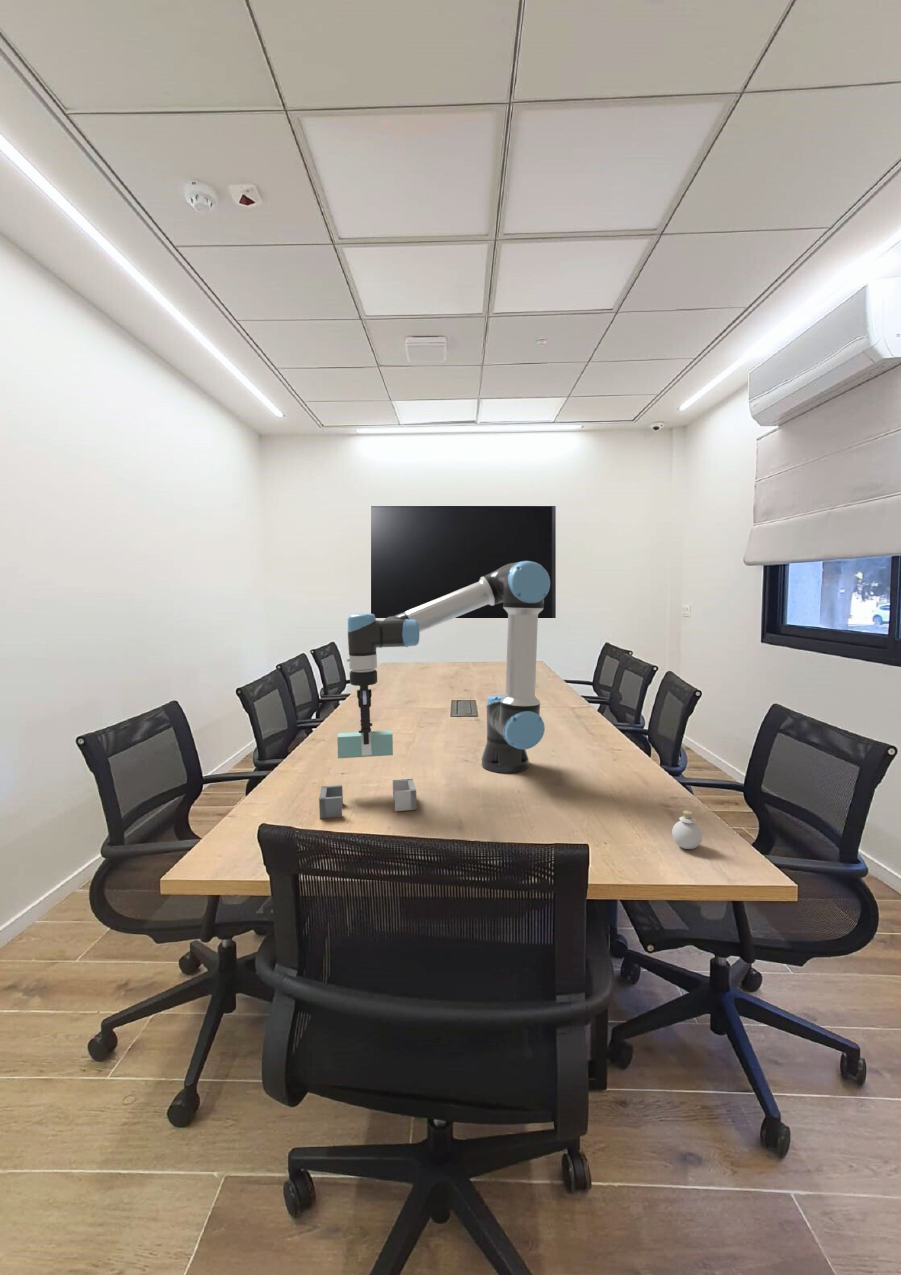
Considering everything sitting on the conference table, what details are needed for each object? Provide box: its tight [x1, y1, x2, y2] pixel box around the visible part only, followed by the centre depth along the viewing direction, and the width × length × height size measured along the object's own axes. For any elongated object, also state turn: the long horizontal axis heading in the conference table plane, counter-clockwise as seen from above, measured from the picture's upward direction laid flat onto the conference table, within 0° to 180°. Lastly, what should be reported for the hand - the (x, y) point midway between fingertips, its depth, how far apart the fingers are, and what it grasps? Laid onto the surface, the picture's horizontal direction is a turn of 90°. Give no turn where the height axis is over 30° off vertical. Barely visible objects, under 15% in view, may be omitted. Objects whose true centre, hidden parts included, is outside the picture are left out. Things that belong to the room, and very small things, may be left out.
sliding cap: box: [392, 778, 418, 812], centre depth 144 cm, size 6×9×5 cm, turn 10°
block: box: [336, 729, 394, 759], centre depth 151 cm, size 15×4×6 cm, turn 100°
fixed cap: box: [318, 784, 344, 819], centre depth 141 cm, size 6×9×5 cm, turn 10°
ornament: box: [671, 804, 709, 850], centre depth 119 cm, size 6×7×10 cm
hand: (366, 752), depth 151 cm, fingers closed on block, 4 cm apart
